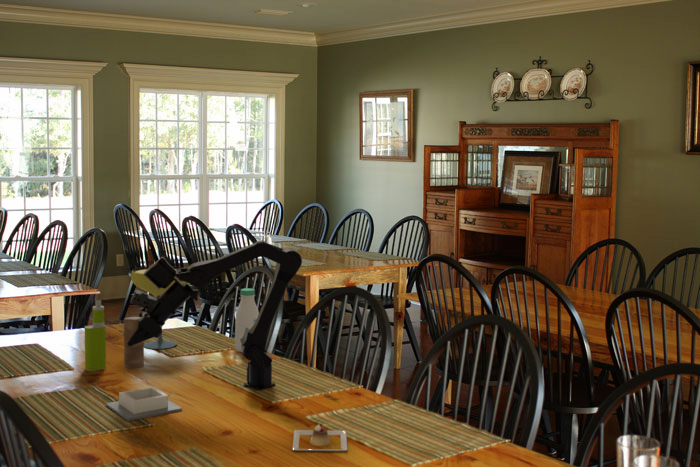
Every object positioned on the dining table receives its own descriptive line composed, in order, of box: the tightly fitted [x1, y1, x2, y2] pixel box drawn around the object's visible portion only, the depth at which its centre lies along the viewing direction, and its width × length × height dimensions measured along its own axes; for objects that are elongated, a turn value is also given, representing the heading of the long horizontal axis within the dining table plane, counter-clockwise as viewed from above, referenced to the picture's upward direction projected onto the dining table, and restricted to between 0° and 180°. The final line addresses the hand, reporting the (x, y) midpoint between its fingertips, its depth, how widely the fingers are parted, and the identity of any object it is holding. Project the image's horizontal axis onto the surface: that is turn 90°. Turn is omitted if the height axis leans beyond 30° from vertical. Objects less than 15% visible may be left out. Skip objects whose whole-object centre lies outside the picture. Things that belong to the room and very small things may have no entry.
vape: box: [84, 299, 107, 372], centre depth 233 cm, size 4×6×20 cm, turn 134°
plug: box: [123, 316, 145, 370], centre depth 212 cm, size 5×5×13 cm
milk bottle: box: [234, 288, 260, 353], centre depth 258 cm, size 8×8×20 cm
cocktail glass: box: [130, 266, 188, 351], centre depth 261 cm, size 18×18×25 cm
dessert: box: [291, 423, 348, 452], centre depth 179 cm, size 12×12×5 cm
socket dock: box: [105, 386, 183, 422], centre depth 200 cm, size 14×14×4 cm
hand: (128, 342), depth 212 cm, fingers closed on plug, 5 cm apart
